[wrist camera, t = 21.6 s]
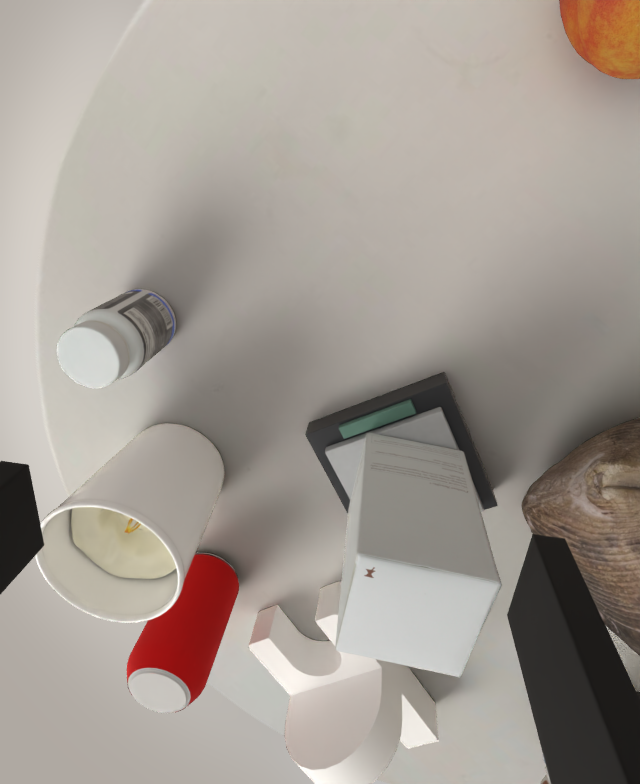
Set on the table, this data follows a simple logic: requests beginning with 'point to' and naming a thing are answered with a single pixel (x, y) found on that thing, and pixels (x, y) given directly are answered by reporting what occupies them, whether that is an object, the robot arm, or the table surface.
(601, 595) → the seashell
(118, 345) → the pill bottle
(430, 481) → the white packaging box
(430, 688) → the table surface
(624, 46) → the fruit
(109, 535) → the candle holder
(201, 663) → the beverage can
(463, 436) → the scale
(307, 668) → the block with arch cutout
